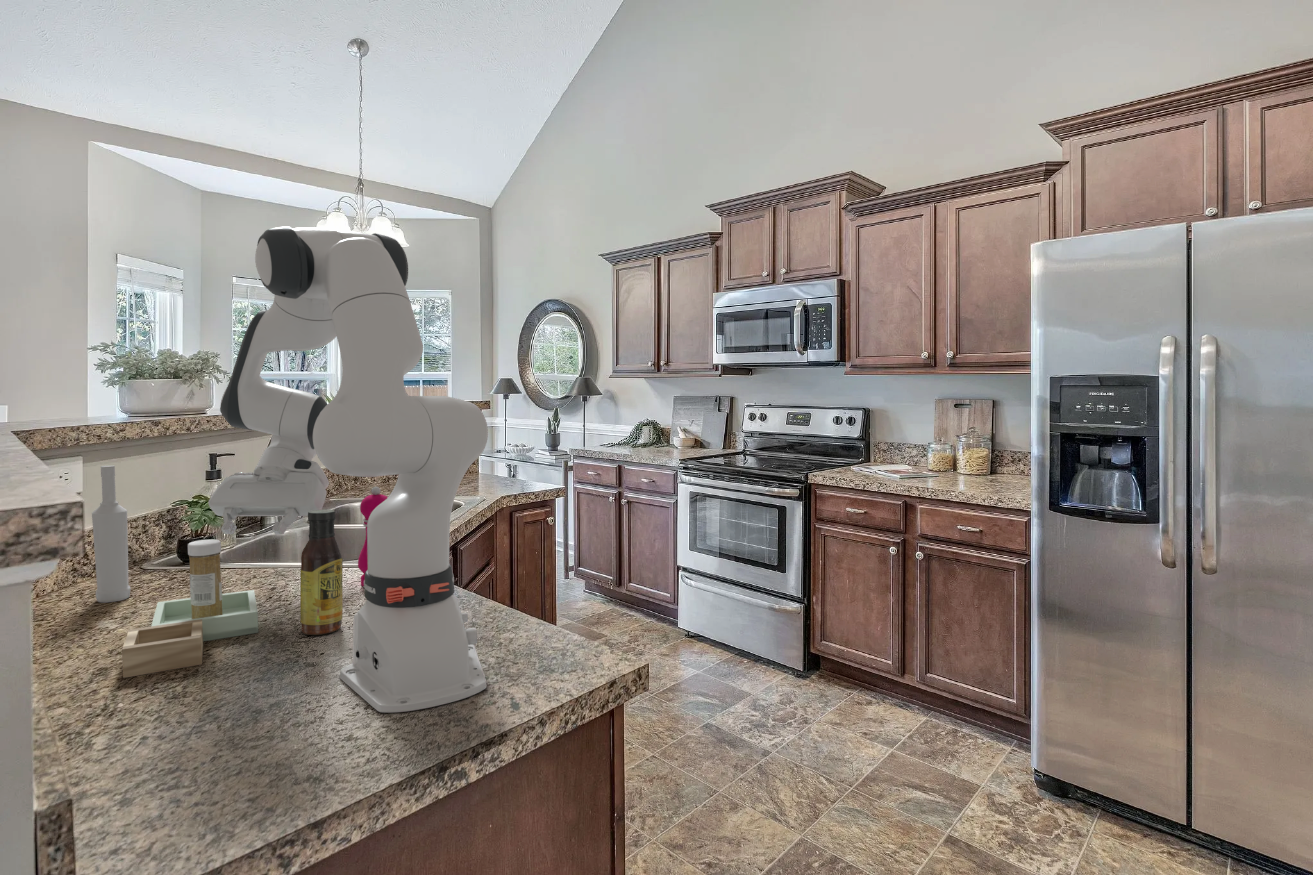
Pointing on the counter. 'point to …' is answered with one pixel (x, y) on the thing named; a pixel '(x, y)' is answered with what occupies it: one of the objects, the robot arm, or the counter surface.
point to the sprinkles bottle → (205, 578)
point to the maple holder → (162, 648)
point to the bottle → (110, 543)
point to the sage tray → (233, 622)
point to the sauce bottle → (321, 577)
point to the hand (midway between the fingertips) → (252, 532)
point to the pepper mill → (366, 509)
